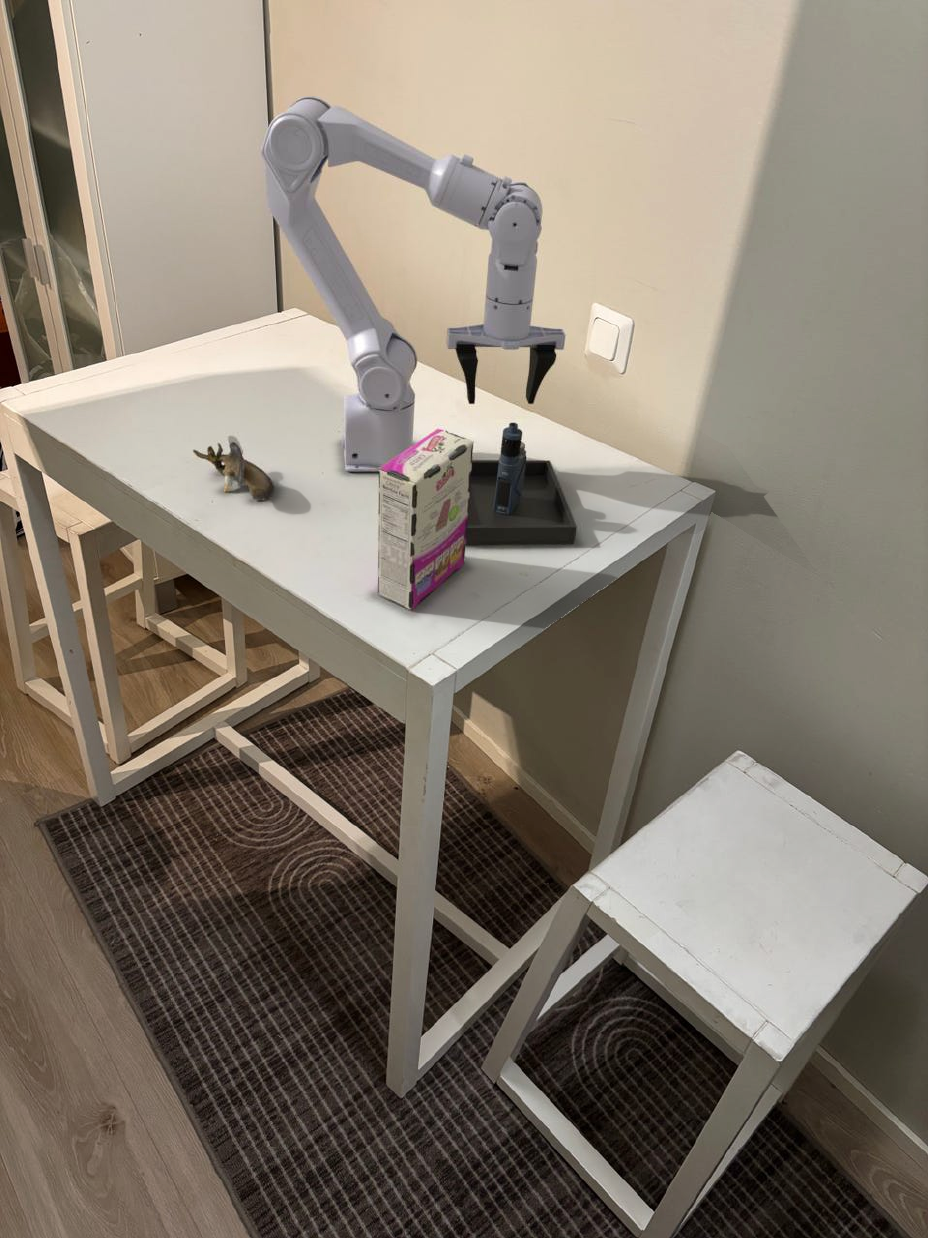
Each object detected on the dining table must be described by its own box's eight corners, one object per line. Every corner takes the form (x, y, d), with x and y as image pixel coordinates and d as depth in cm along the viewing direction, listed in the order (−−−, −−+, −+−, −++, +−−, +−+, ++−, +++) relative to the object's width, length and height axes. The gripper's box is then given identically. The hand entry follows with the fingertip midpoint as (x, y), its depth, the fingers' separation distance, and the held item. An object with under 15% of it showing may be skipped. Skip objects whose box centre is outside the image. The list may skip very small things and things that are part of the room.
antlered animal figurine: (184, 481, 120) (235, 495, 115) (197, 425, 119) (249, 436, 114) (229, 492, 126) (278, 505, 122) (241, 438, 126) (291, 450, 121)
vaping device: (490, 512, 121) (499, 426, 114) (504, 493, 125) (514, 408, 117) (509, 517, 120) (520, 431, 113) (523, 498, 124) (534, 413, 117)
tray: (459, 545, 116) (461, 528, 114) (443, 476, 128) (444, 459, 126) (574, 544, 118) (577, 527, 116) (547, 476, 130) (549, 460, 129)
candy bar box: (429, 550, 114) (438, 425, 104) (465, 566, 112) (477, 440, 102) (373, 595, 107) (376, 465, 96) (410, 613, 105) (417, 482, 94)
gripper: (453, 307, 111) (447, 414, 120) (575, 308, 113) (561, 414, 122) (446, 285, 117) (441, 389, 125) (563, 287, 119) (550, 389, 127)
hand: (500, 400), depth 124 cm, fingers open, 7 cm apart
